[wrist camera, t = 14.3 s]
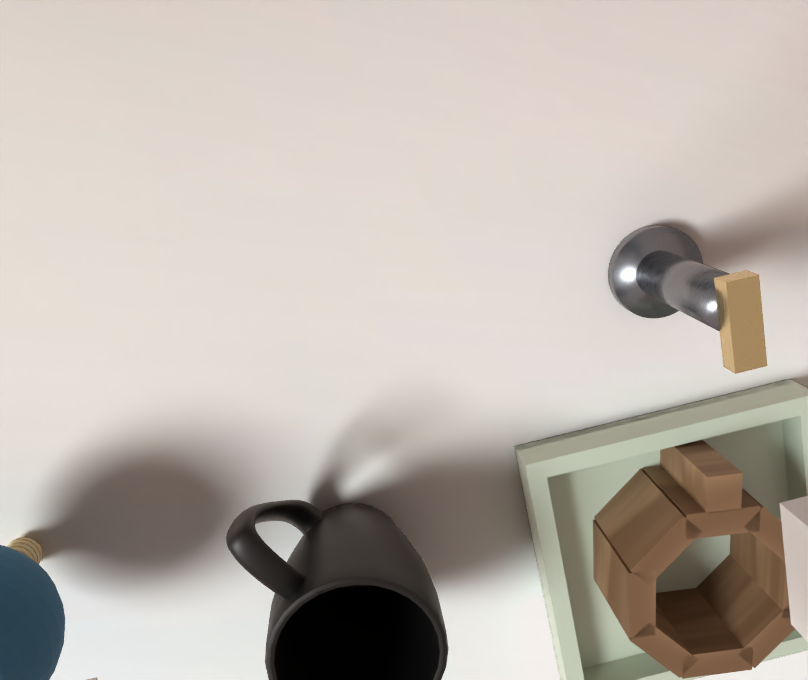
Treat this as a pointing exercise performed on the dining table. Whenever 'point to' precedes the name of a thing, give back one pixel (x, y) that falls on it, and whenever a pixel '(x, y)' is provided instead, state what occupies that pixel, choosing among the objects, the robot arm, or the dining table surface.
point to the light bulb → (28, 614)
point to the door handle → (690, 291)
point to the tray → (609, 471)
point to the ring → (667, 538)
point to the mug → (343, 596)
